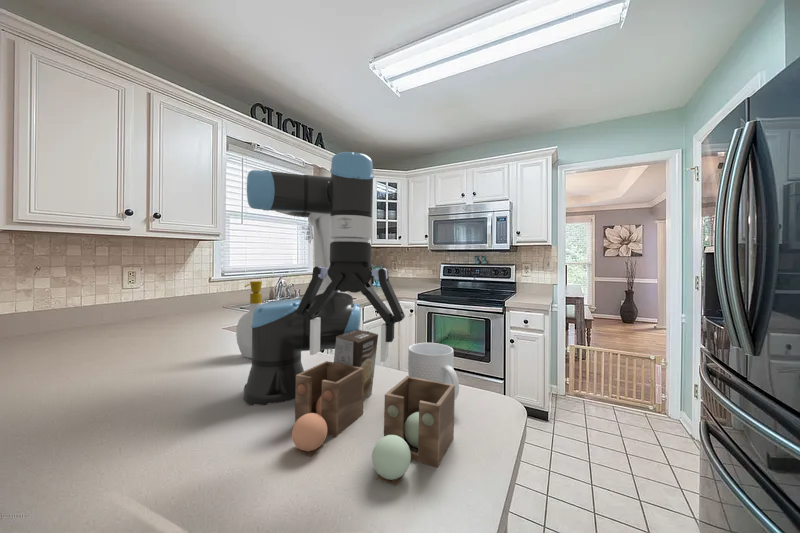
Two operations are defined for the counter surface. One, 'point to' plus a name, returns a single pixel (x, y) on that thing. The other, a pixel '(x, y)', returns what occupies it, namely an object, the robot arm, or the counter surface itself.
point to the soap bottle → (248, 321)
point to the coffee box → (358, 354)
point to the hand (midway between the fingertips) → (348, 356)
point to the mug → (433, 363)
